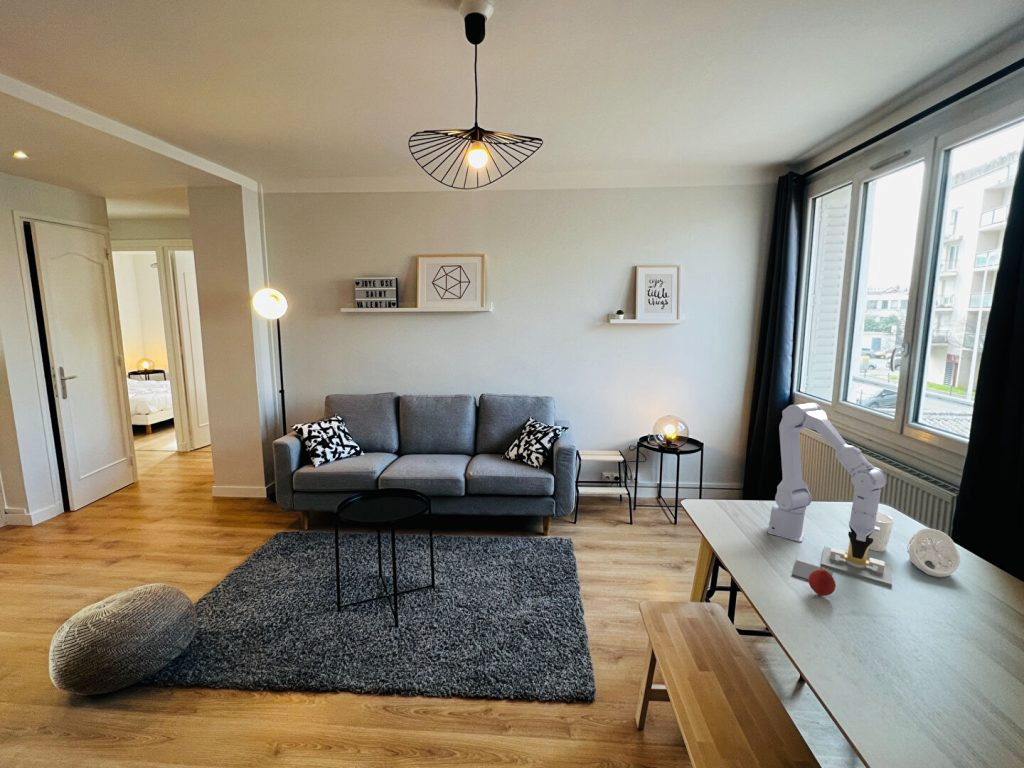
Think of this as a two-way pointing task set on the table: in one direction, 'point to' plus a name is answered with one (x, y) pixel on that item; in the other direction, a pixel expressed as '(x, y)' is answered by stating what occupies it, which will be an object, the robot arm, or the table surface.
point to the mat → (805, 570)
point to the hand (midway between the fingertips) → (857, 553)
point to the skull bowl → (933, 552)
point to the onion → (822, 582)
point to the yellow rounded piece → (856, 560)
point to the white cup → (881, 532)
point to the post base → (857, 567)
